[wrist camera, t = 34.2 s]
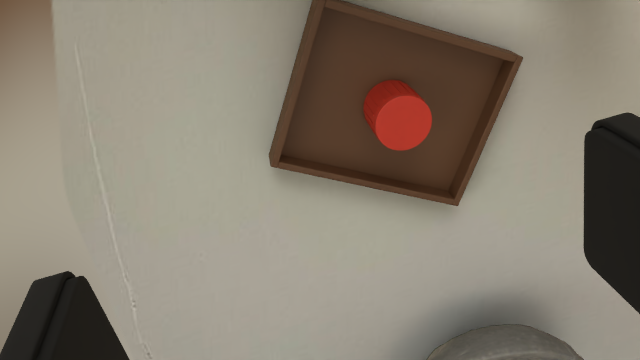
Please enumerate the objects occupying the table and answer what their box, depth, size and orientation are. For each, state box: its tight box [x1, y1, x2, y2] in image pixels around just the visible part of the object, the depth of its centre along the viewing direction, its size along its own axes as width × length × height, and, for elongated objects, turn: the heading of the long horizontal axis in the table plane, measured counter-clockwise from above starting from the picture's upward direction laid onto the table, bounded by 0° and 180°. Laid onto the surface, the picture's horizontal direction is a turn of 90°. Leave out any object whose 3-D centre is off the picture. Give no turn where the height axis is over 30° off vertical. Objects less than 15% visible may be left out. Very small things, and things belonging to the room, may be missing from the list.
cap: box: [363, 80, 432, 150], centre depth 39 cm, size 4×4×4 cm
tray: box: [269, 0, 523, 206], centre depth 41 cm, size 15×12×2 cm
